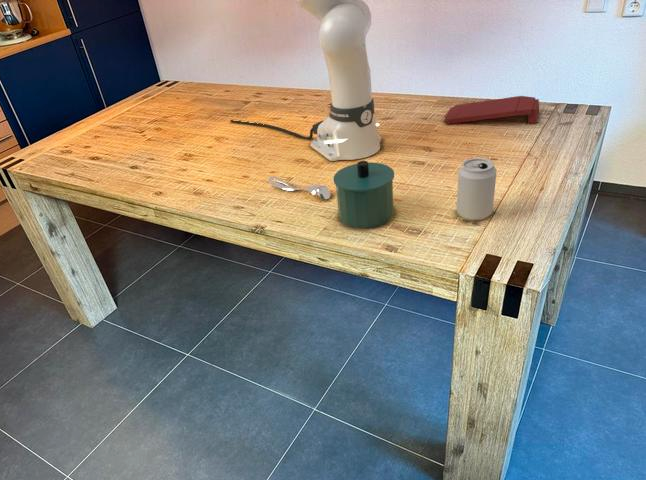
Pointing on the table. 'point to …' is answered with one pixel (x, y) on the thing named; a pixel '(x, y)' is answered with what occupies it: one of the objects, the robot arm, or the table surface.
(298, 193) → the table surface
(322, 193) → the silver spoon
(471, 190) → the can
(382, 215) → the pot
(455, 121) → the dark red sloped ramp
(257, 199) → the table surface
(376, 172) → the pot lid
